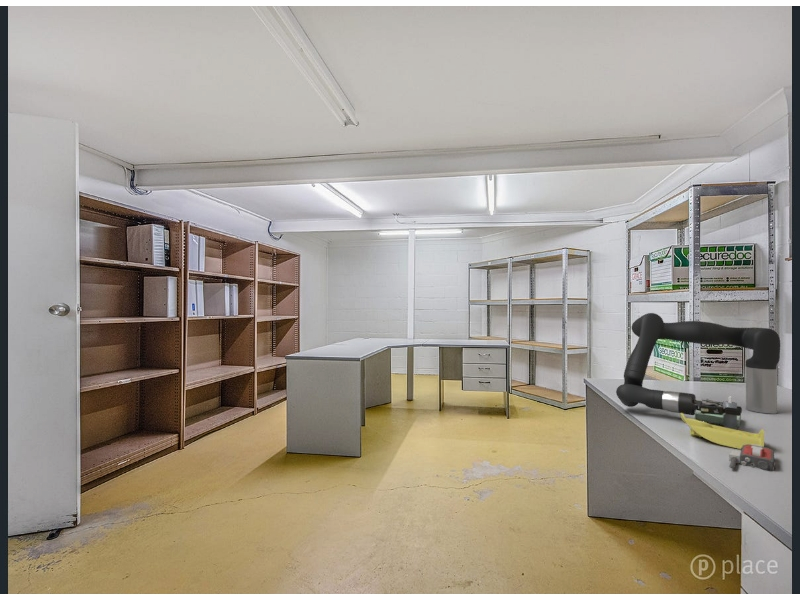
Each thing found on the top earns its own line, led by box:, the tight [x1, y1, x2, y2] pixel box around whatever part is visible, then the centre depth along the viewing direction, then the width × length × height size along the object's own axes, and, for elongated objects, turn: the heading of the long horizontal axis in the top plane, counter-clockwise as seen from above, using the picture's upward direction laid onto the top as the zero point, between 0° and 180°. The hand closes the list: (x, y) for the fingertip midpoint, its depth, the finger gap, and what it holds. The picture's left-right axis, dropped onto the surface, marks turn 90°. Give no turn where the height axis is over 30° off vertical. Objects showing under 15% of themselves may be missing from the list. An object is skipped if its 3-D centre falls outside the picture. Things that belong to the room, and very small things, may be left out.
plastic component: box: [680, 413, 765, 450], centre depth 121 cm, size 20×7×10 cm
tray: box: [694, 410, 742, 429], centre depth 143 cm, size 12×12×3 cm
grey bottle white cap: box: [722, 395, 738, 430], centre depth 133 cm, size 4×4×11 cm
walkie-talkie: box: [728, 444, 776, 472], centre depth 103 cm, size 9×4×20 cm
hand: (740, 411), depth 131 cm, fingers closed on grey bottle white cap, 3 cm apart
